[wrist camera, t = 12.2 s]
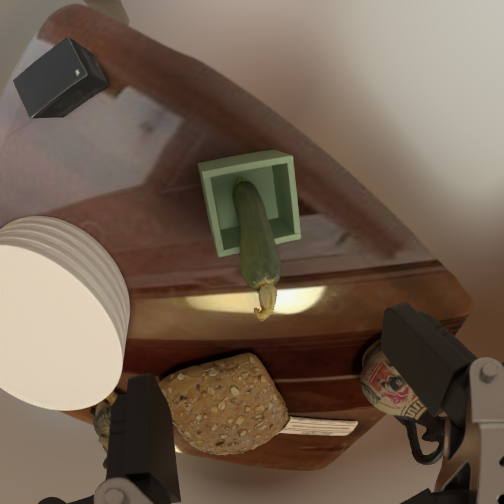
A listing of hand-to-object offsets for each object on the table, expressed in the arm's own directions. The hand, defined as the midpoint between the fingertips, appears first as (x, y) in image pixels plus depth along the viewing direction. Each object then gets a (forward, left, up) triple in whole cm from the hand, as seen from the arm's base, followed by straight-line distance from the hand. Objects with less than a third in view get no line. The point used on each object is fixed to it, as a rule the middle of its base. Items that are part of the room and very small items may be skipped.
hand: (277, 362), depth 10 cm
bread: (+42, -5, -36) cm, 55 cm away
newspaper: (+66, +15, -36) cm, 76 cm away
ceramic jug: (+45, +29, -36) cm, 64 cm away
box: (-16, -14, -36) cm, 42 cm away
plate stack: (+13, -28, -36) cm, 47 cm away
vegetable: (+2, +6, -35) cm, 35 cm away
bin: (+4, +5, -35) cm, 36 cm away
